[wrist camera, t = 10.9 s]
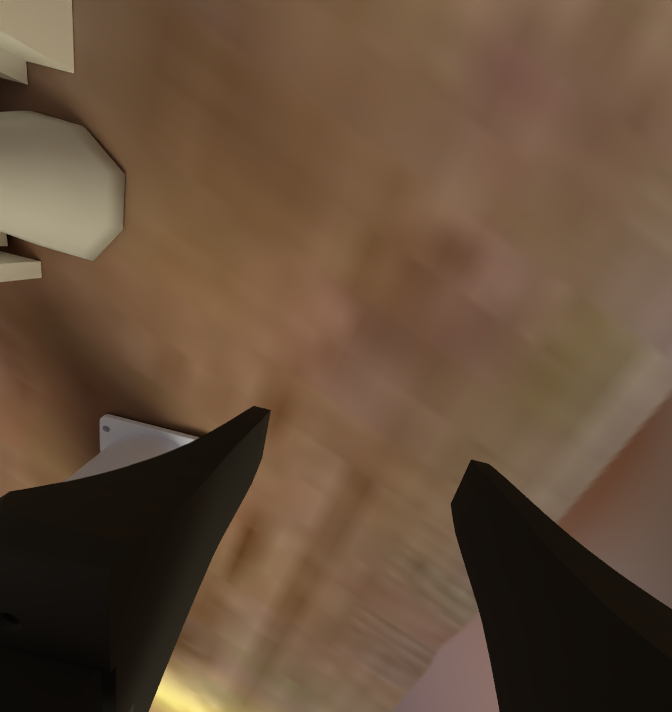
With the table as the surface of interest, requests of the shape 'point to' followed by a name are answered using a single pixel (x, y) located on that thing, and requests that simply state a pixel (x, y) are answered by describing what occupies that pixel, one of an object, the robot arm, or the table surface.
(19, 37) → the gauge frame
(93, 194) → the grey vase
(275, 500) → the table surface
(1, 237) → the pad
